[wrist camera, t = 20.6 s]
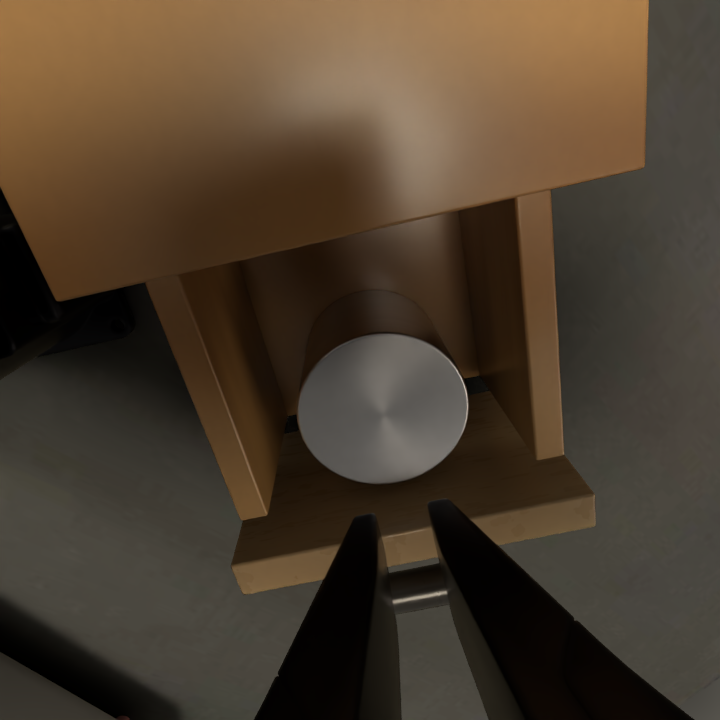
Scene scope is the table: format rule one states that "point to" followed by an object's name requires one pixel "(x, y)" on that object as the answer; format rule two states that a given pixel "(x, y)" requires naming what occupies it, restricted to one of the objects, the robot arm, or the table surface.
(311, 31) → the cabinet
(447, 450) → the tin
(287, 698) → the robot arm
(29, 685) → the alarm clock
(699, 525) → the table surface
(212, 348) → the drawer
